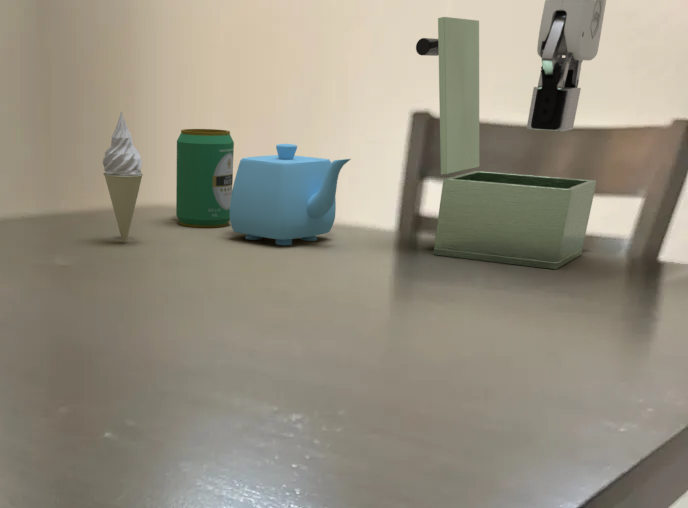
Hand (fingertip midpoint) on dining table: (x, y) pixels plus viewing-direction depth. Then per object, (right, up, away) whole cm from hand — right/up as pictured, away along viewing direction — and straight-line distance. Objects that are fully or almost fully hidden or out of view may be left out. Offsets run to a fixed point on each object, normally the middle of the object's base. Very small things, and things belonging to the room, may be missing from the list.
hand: (550, 126), depth 116 cm
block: (0, 0, 0) cm, 0 cm away
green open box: (-2, -12, +9) cm, 15 cm away
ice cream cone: (-52, -10, +10) cm, 54 cm away
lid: (-10, +5, +4) cm, 12 cm away
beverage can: (-42, -1, +25) cm, 49 cm away
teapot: (-30, -8, +15) cm, 34 cm away
